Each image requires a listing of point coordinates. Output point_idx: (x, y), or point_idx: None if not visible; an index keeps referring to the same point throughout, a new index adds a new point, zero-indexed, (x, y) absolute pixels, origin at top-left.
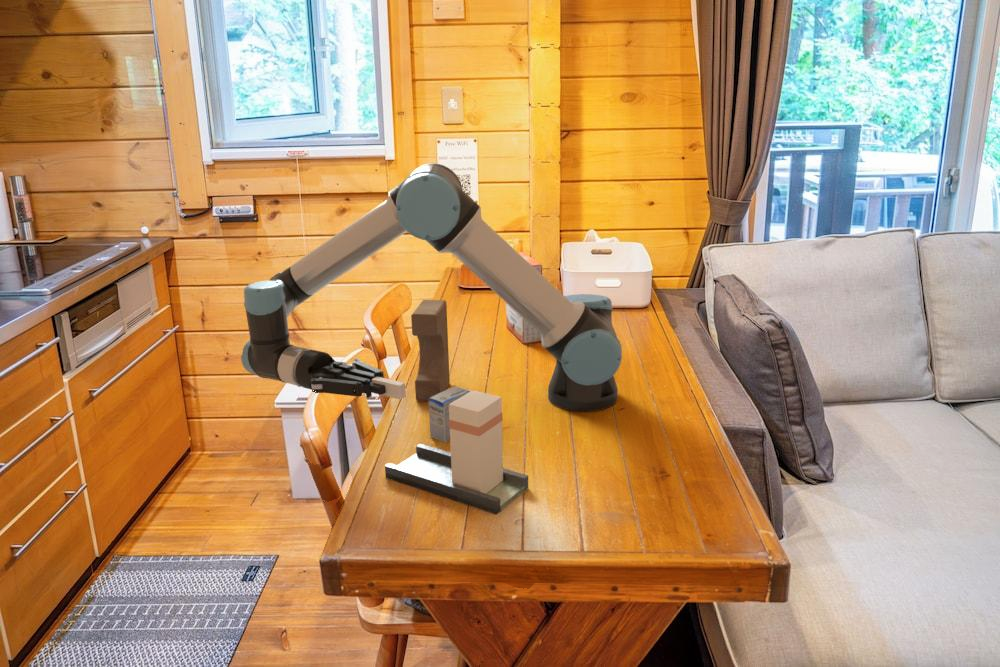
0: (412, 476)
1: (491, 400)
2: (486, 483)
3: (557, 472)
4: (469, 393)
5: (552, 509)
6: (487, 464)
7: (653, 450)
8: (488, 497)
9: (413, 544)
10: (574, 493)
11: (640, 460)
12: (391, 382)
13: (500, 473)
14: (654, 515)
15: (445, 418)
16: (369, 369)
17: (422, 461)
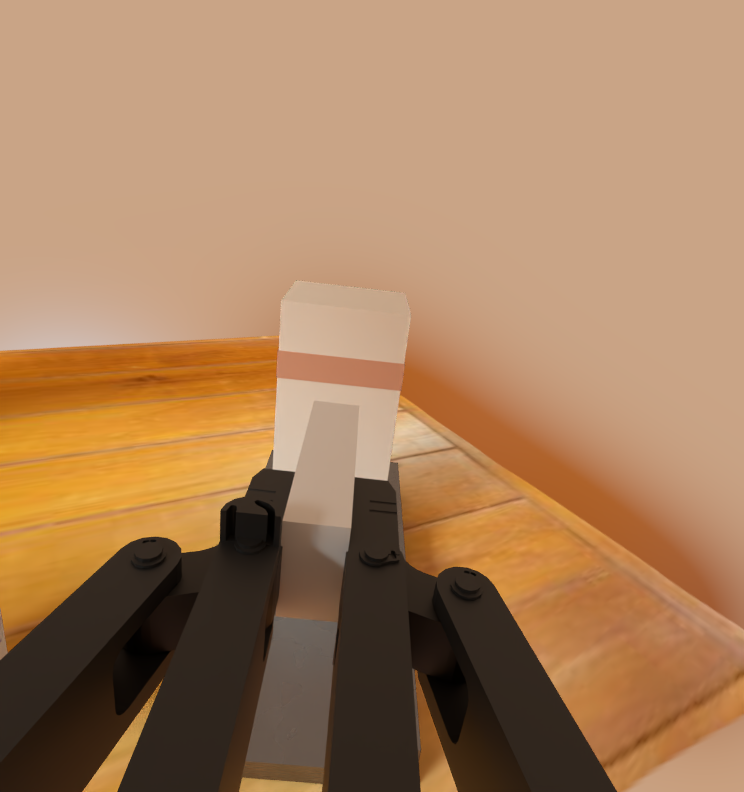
0: None
1: (326, 286)
2: None
3: (183, 458)
4: (310, 301)
5: None
6: None
7: (52, 388)
8: (394, 473)
9: (588, 555)
10: (257, 432)
11: (99, 395)
12: (341, 435)
13: None
14: (276, 379)
15: (3, 639)
16: (82, 672)
17: (263, 695)
